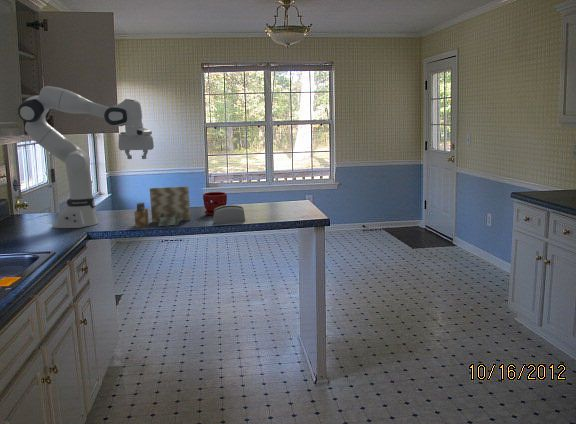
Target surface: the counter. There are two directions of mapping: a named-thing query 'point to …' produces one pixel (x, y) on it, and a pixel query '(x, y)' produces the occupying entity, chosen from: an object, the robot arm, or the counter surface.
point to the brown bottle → (141, 216)
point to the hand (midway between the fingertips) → (136, 159)
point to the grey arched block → (228, 214)
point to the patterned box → (170, 205)
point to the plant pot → (214, 201)
